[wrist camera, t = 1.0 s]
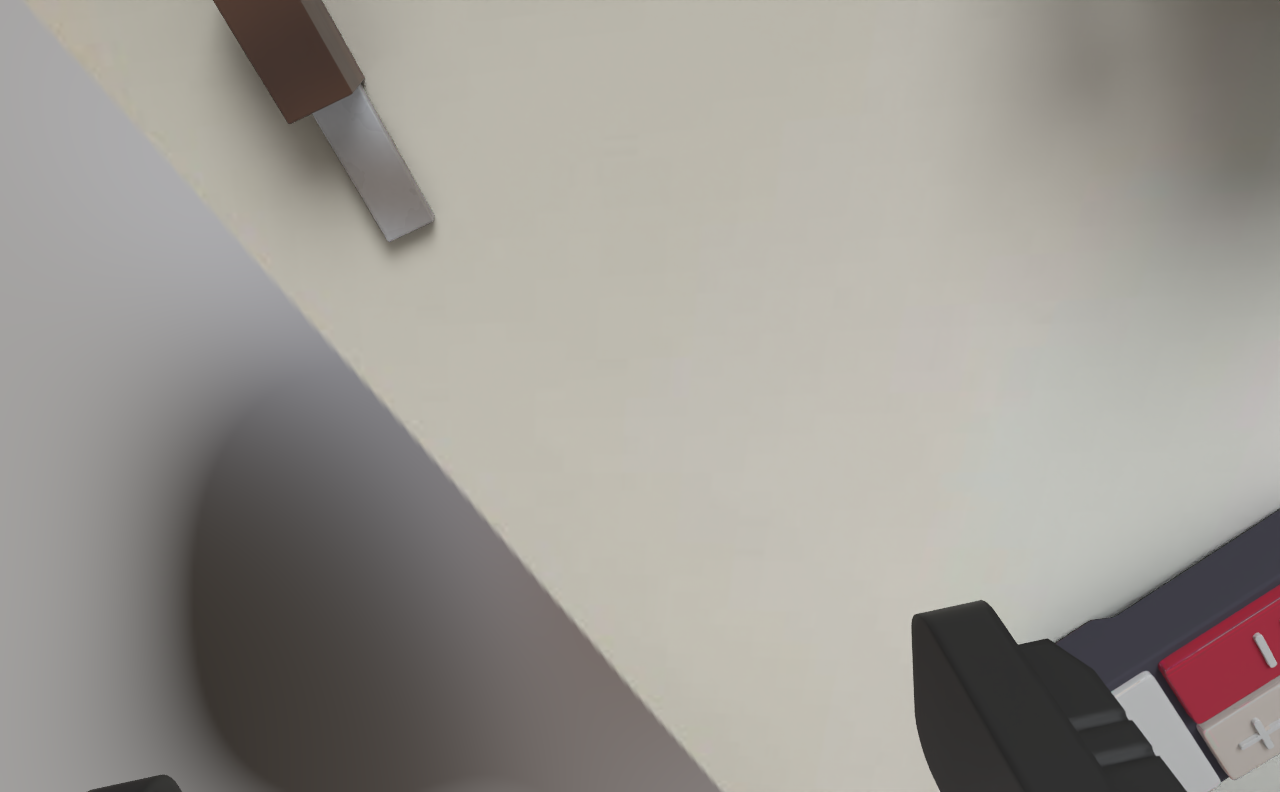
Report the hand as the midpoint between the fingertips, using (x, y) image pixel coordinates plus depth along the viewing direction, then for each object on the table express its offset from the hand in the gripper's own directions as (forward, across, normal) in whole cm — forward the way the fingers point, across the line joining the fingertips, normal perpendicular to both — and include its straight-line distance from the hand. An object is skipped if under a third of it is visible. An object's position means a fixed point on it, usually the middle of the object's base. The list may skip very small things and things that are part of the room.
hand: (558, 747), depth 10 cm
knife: (+26, +6, -4) cm, 26 cm away
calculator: (+26, -28, +30) cm, 48 cm away
